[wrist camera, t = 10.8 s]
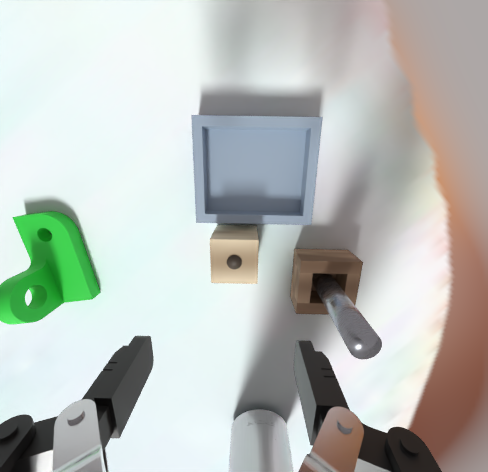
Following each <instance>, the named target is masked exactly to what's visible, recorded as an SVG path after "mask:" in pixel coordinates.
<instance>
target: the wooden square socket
mask: <svg viewBox="0 0 488 472" xmlns="http://www.w3.org/2000/svg"><path fill="white" fill-rule="evenodd" d="M362 265H363V262H362V261H361V260H360V259H358V258H357V257H356V256H355V255H354V254H353V253H351V252H350V251H349V250H327V249H294V259H293V271H292V282H291V294H290V297H291V300H292V303H293V306H294V309H295V312H296V314H329V313H328V311H327V309H326V307H325V306H324V304H323V302H322V300H321V298H320V296H319V295H318V293H317V291H316V289H315V287H314V286H313V284H312V277H313V273H327V274H331V275H332V276H333V278H334V279H335V280H336V282H337V283H338V284H339V286H340V287H341V288H342V290H343V291H344V292H345V293H346V295H347V296H348V297H349V299H350V300H351V301H352V303H353V304H354V305H355V303H356V298H357V292H358V287H359V281H360V276H361V270H362Z"/></svg>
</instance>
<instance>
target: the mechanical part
mask: <svg viewBox="0 0 488 472" xmlns="http://www.w3.org/2000/svg"><path fill="white" fill-rule="evenodd" d="M13 219H14V222H15V224H16V226H17V229H18V231H19V233H20V236H21V238H22V240H23V243H24V245H25V247H26V250H27V252H28V254H29V257H30V259H31V265H30V267H29V269H27V270H26V271H24V272H22V273H20V274H18V275H16V276H13V277H11V278H9V279H7V280H6V281H4V282H3V283H2V284H1V285H0V321H2V322H4V323H7V324H21V323H30V322H36V321H39V320H41V319H42V318H44V317H45V316H46V315H48V314H49V313H51V312H52V311H53V310H55V309H56V308H57V307H59V306H60V305H61V304H63V303H64V302H73V301H81V300H90V299H93V298H95V297H96V296H97V295H98V294H99V293H100V289H99V287H98V284H97V281H96V278H95V275H94V272H93V270H92V267H91V264H90V261H89V258H88V255H87V252H86V250H85V247H84V244H83V241H82V238H81V235H80V233H79V230H78V228H77V226H76V224H75V223H74V222H73V221H72V220H71V219H70V218H69V217H67V216H66V215H64V214H62V213H59V212H54V211H49V212H41V213H34V214H26V215H22V216H17V217H13ZM49 231H50V232H51V234H52V235H51V234H50V232H49ZM28 289H29V290H30V291H31V293H32V301H31V303H30V305H29V306H27V305H26V303H25V294H26V292H27V290H28Z"/></svg>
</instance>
